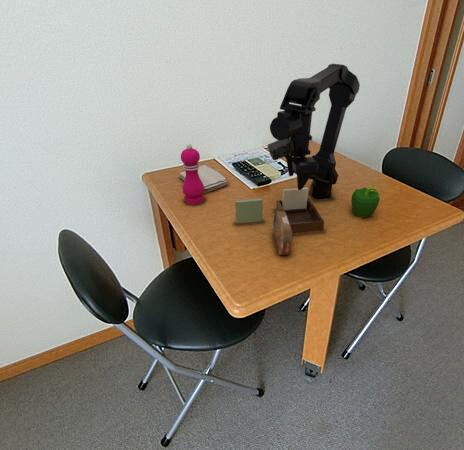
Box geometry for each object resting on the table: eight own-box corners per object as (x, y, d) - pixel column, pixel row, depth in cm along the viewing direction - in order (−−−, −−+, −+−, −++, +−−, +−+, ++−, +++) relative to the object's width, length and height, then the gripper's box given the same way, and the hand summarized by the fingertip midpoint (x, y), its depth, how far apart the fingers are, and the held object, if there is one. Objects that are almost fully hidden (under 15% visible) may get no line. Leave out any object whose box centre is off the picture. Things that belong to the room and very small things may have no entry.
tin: (272, 229, 102) (273, 205, 97) (282, 229, 102) (284, 204, 97) (280, 261, 89) (281, 235, 85) (291, 261, 90) (294, 235, 85)
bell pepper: (344, 214, 109) (349, 187, 104) (355, 205, 114) (360, 178, 109) (368, 224, 105) (375, 195, 99) (379, 213, 110) (386, 186, 104)
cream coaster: (281, 211, 110) (283, 189, 105) (305, 209, 111) (307, 187, 106) (282, 212, 109) (283, 190, 104) (306, 210, 110) (308, 188, 106)
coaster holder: (276, 210, 111) (276, 200, 109) (307, 207, 113) (308, 197, 111) (287, 235, 99) (288, 224, 97) (322, 232, 101) (324, 221, 99)
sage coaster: (235, 223, 104) (235, 200, 100) (261, 220, 106) (262, 198, 101) (236, 224, 104) (236, 202, 99) (261, 222, 105) (262, 200, 100)
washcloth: (203, 195, 119) (202, 187, 118) (177, 178, 131) (176, 170, 129) (230, 185, 126) (229, 178, 124) (203, 170, 137) (203, 162, 135)
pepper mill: (201, 206, 113) (196, 149, 102) (180, 204, 114) (173, 147, 103) (207, 196, 119) (203, 141, 108) (188, 194, 120) (182, 139, 109)
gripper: (263, 121, 98) (262, 171, 107) (279, 144, 83) (276, 199, 91) (300, 120, 100) (296, 169, 108) (322, 141, 85) (315, 196, 93)
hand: (295, 182), depth 100 cm, fingers open, 9 cm apart
